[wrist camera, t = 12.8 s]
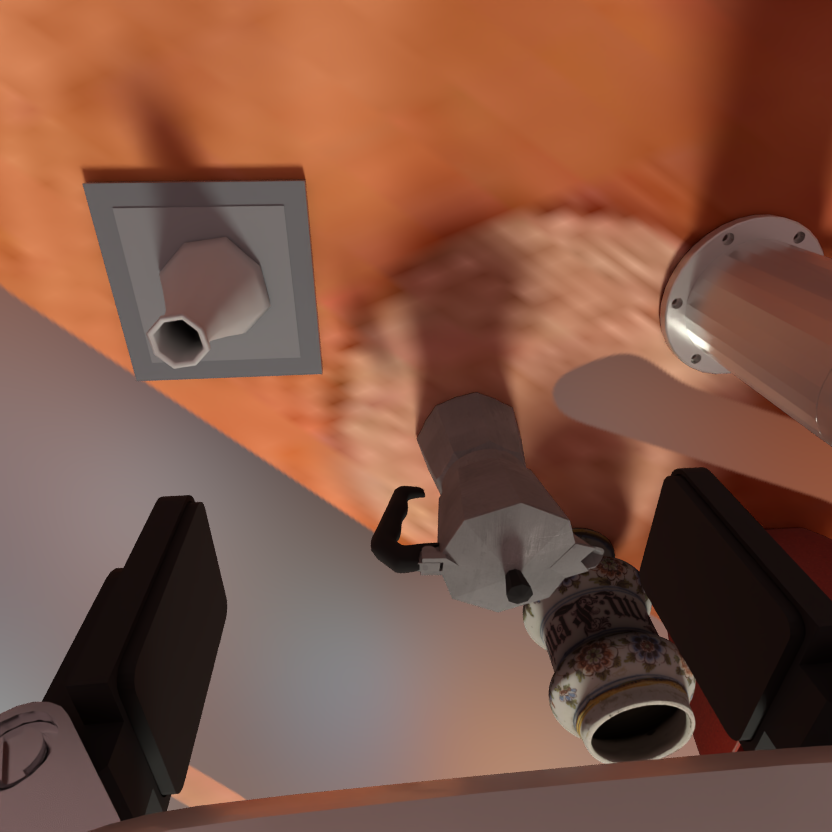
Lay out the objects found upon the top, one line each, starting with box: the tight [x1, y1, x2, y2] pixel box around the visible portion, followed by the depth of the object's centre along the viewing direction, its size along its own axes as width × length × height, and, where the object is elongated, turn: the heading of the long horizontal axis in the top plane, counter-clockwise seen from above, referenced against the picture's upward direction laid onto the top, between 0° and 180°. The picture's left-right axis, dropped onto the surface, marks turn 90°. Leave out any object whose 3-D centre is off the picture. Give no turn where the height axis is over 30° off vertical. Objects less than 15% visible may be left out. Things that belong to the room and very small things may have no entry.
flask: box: [146, 237, 271, 369], centre depth 35 cm, size 7×7×10 cm
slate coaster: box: [83, 179, 323, 381], centre depth 40 cm, size 14×14×1 cm
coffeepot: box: [371, 392, 604, 612], centre depth 41 cm, size 15×9×18 cm, turn 85°
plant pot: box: [667, 528, 832, 755], centre depth 53 cm, size 19×19×17 cm
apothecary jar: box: [523, 528, 695, 764], centre depth 50 cm, size 12×12×18 cm
